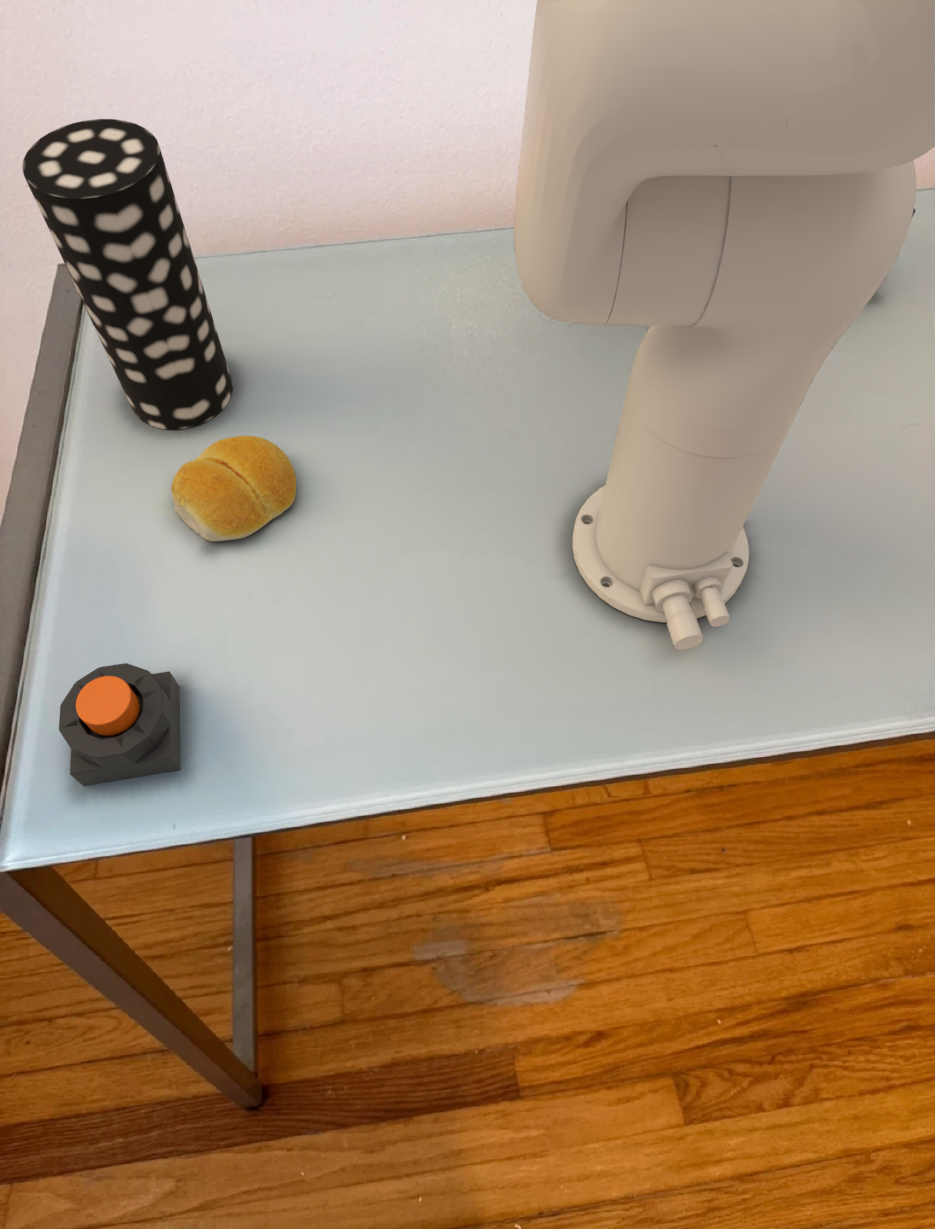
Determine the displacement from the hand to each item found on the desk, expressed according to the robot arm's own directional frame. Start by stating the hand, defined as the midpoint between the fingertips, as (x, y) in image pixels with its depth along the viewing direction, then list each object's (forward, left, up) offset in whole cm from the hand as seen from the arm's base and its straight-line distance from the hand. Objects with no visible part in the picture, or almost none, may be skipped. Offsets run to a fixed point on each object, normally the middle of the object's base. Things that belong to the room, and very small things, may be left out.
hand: (632, 245), depth 73 cm
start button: (-36, +43, -1) cm, 56 cm away
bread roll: (-18, +35, -5) cm, 40 cm away
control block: (-36, +43, -5) cm, 56 cm away
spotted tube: (-6, +39, -5) cm, 40 cm away
